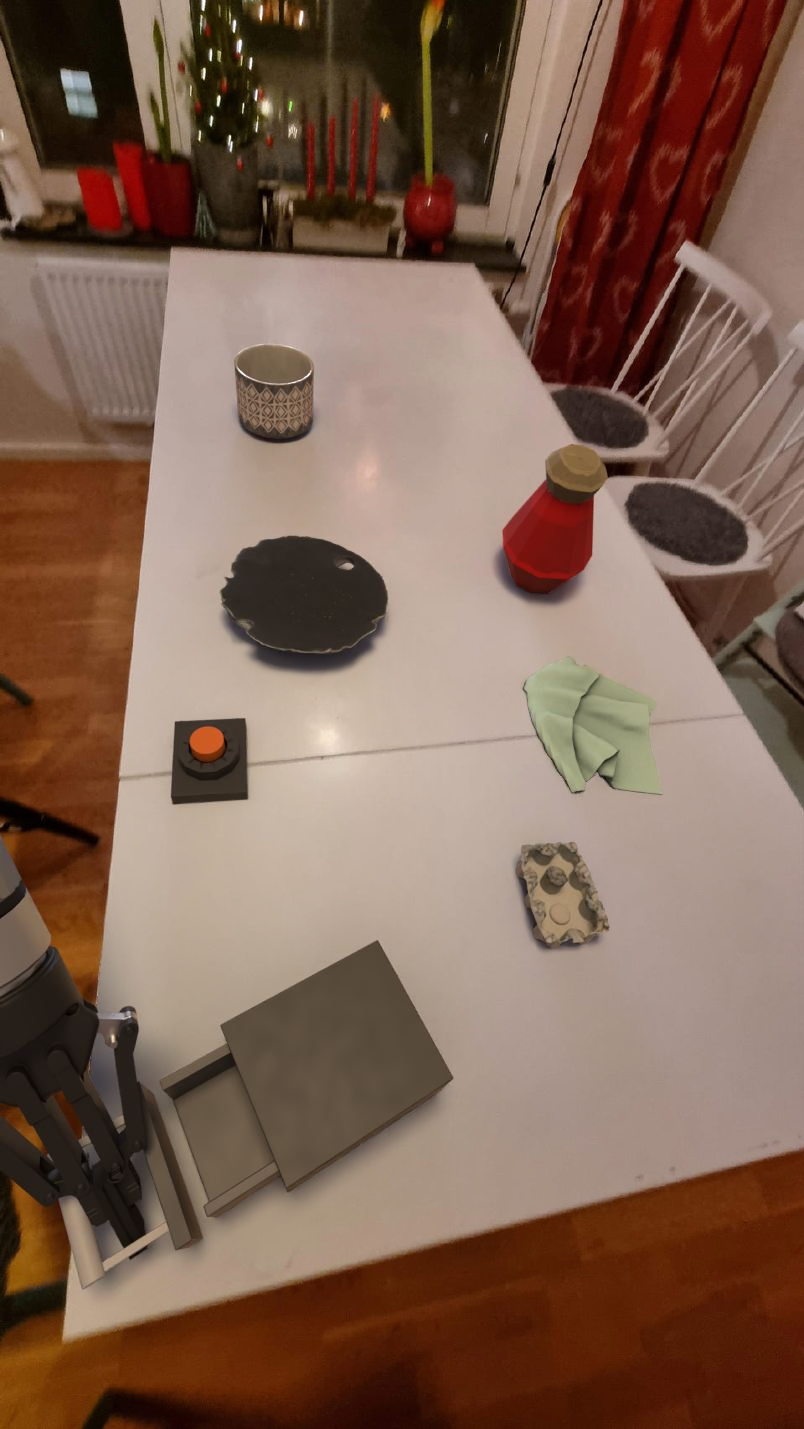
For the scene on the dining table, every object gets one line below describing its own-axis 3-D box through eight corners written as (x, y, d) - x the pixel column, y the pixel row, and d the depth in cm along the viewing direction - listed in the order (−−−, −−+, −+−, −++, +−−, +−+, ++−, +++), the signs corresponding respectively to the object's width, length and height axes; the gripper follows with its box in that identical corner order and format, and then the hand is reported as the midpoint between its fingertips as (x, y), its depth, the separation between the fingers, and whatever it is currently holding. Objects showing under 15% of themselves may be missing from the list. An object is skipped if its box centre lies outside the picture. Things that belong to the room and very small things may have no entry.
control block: (247, 799, 77) (245, 783, 75) (172, 804, 76) (168, 788, 73) (246, 725, 83) (244, 708, 80) (176, 729, 82) (172, 711, 79)
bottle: (502, 530, 111) (537, 413, 95) (584, 553, 110) (634, 439, 94) (482, 594, 102) (517, 477, 85) (572, 620, 101) (624, 506, 85)
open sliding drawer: (104, 1302, 51) (81, 1312, 46) (61, 1144, 56) (36, 1136, 51) (344, 1145, 59) (348, 1137, 53) (286, 1019, 64) (285, 1000, 58)
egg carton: (599, 946, 72) (614, 933, 69) (531, 952, 71) (542, 939, 68) (573, 851, 79) (586, 835, 75) (510, 855, 77) (519, 839, 74)
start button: (225, 761, 76) (223, 752, 75) (191, 763, 76) (189, 754, 74) (225, 734, 78) (223, 725, 77) (192, 736, 78) (190, 727, 76)
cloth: (556, 643, 97) (561, 631, 96) (700, 726, 92) (708, 716, 90) (481, 735, 87) (485, 724, 85) (638, 836, 81) (647, 826, 79)
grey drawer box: (287, 1192, 57) (286, 1188, 50) (228, 1046, 63) (219, 1024, 56) (436, 1094, 62) (454, 1078, 56) (369, 967, 68) (377, 939, 61)
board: (352, 549, 104) (354, 522, 100) (410, 655, 93) (415, 629, 89) (204, 577, 97) (200, 548, 93) (248, 696, 86) (246, 669, 82)
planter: (262, 395, 125) (260, 336, 117) (325, 418, 123) (327, 359, 115) (224, 428, 118) (218, 368, 110) (290, 453, 116) (289, 393, 108)
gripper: (93, 907, 51) (211, 1152, 57) (-103, 998, 46) (48, 1255, 52) (97, 950, 44) (230, 1223, 50) (-132, 1061, 39) (44, 1348, 45)
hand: (137, 1239), depth 51 cm, fingers closed
